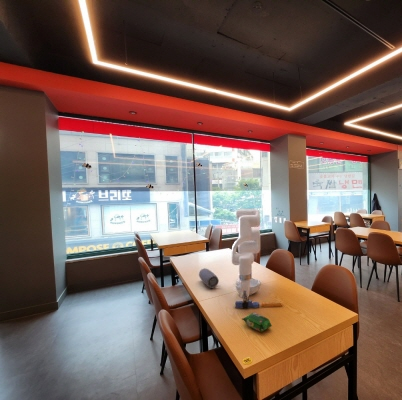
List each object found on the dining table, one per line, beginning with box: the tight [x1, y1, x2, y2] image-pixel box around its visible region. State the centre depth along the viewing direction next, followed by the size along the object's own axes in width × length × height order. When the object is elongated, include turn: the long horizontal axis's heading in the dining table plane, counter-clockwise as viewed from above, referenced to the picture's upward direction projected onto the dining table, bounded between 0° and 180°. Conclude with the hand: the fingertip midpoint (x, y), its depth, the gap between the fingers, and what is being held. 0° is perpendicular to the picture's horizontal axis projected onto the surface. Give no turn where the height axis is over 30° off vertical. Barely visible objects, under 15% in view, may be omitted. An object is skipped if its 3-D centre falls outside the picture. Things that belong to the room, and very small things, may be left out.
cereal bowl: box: [235, 278, 261, 296], centre depth 157 cm, size 17×17×7 cm
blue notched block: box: [234, 300, 260, 309], centre depth 137 cm, size 14×4×3 cm, turn 93°
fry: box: [261, 301, 282, 308], centre depth 138 cm, size 12×2×2 cm, turn 93°
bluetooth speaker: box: [198, 267, 219, 288], centre depth 173 cm, size 23×9×10 cm, turn 35°
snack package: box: [241, 312, 272, 333], centre depth 115 cm, size 7×16×5 cm, turn 52°
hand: (245, 306), depth 137 cm, fingers open, 3 cm apart
